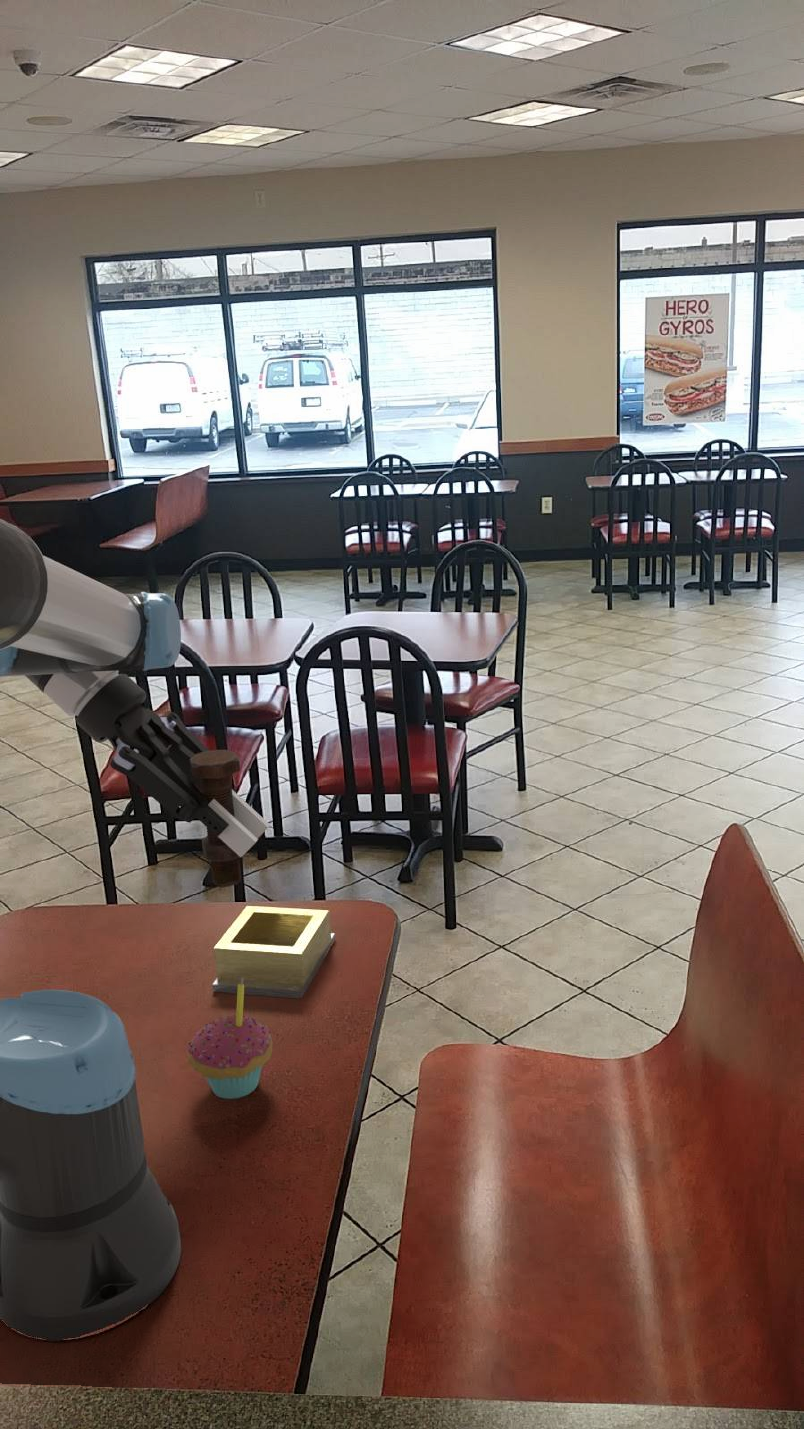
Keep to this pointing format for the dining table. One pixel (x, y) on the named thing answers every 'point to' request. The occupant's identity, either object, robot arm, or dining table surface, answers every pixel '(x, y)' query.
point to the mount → (272, 951)
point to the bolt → (217, 785)
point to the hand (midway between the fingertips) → (255, 840)
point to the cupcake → (231, 1052)
